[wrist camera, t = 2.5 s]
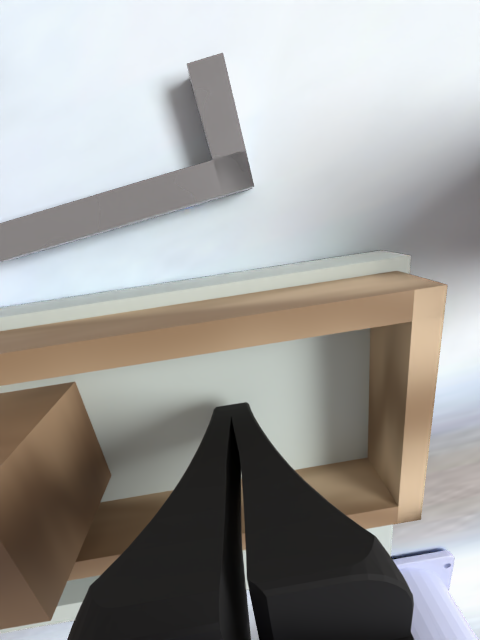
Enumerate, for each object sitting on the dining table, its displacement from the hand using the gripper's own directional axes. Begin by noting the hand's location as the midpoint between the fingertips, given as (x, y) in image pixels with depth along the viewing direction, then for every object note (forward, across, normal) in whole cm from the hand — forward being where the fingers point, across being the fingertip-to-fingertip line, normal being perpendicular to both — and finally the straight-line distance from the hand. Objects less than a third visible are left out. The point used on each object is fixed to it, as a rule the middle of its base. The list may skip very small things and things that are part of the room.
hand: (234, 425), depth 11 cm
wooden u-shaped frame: (+1, +1, 0) cm, 1 cm away
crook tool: (+3, +3, -10) cm, 11 cm away
